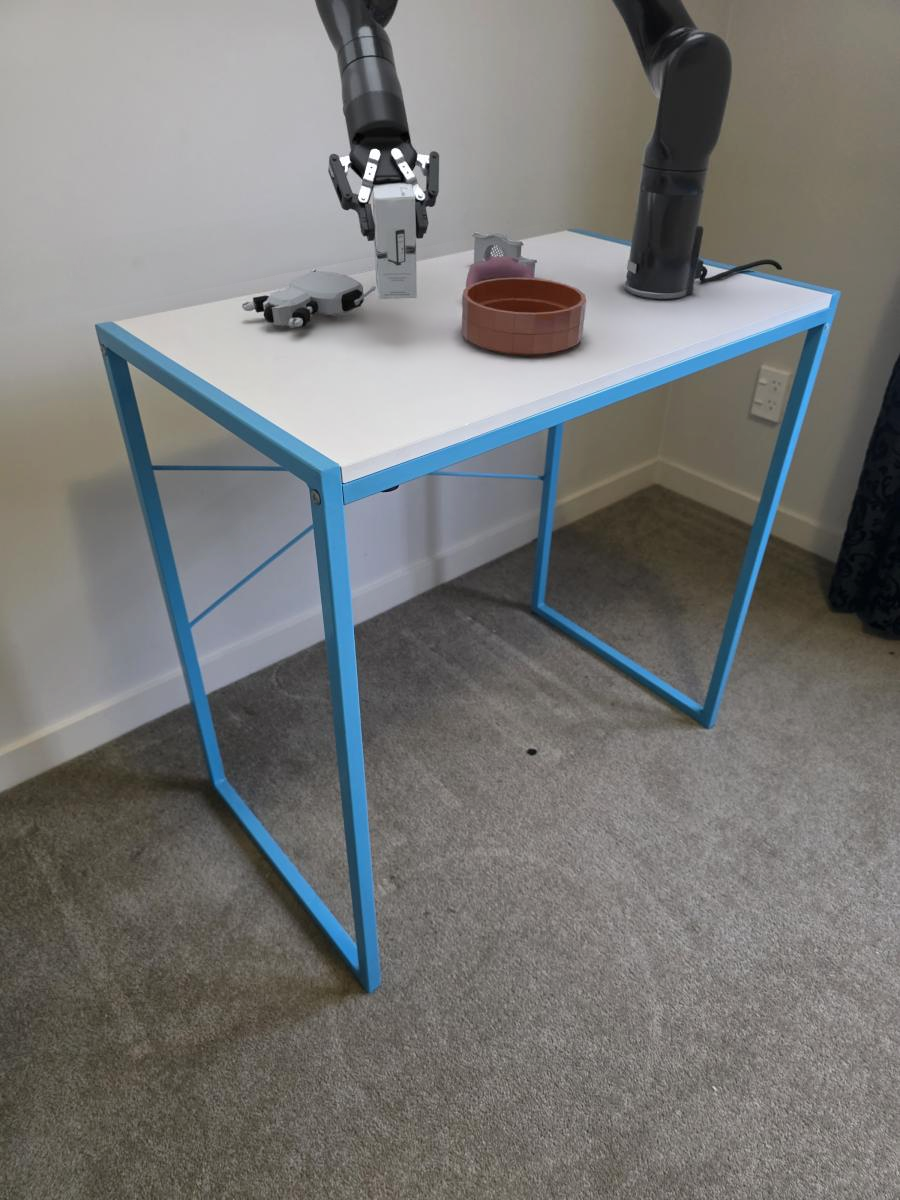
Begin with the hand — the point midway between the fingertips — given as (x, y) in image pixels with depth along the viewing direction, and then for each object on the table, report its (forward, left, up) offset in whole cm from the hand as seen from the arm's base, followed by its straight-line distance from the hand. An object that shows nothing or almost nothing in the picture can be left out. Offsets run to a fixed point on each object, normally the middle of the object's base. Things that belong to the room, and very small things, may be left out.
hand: (396, 235), depth 104 cm
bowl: (-16, +3, -13) cm, 20 cm away
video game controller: (-18, -13, -13) cm, 26 cm away
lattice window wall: (-23, -27, -13) cm, 38 cm away
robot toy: (+10, -10, -13) cm, 19 cm away
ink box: (0, -1, -7) cm, 7 cm away
